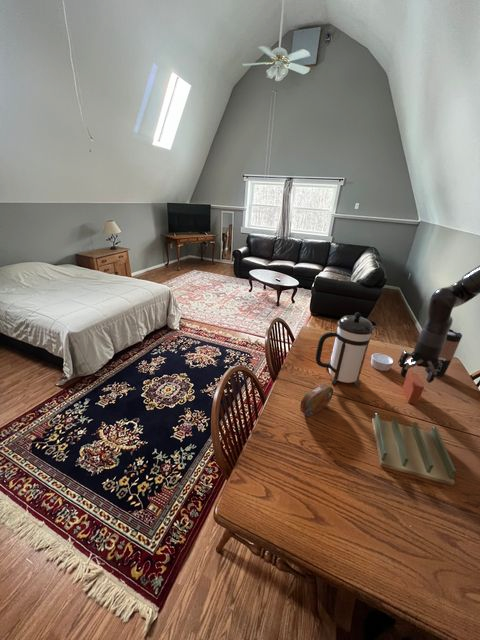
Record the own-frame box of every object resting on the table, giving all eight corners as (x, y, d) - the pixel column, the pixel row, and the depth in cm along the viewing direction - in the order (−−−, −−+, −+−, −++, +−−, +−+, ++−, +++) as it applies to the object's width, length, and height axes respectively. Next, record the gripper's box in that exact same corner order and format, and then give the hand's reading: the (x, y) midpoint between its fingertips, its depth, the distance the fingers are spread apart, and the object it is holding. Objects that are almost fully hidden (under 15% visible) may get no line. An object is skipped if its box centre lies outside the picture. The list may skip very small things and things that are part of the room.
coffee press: (335, 362, 123) (349, 301, 110) (368, 380, 112) (387, 315, 99) (311, 375, 113) (323, 310, 100) (344, 396, 102) (363, 326, 89)
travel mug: (427, 375, 117) (443, 334, 109) (422, 365, 124) (437, 327, 115) (447, 379, 115) (465, 338, 107) (441, 369, 122) (458, 330, 113)
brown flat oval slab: (303, 420, 90) (307, 400, 87) (296, 414, 93) (300, 395, 89) (331, 403, 99) (335, 384, 95) (324, 398, 101) (328, 379, 97)
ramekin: (366, 360, 126) (368, 352, 124) (385, 361, 126) (387, 353, 124) (374, 371, 118) (376, 363, 116) (394, 372, 118) (397, 364, 116)
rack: (431, 434, 87) (435, 424, 85) (453, 486, 71) (459, 475, 70) (371, 420, 92) (374, 410, 90) (380, 465, 76) (384, 455, 74)
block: (410, 389, 108) (417, 373, 104) (417, 404, 100) (424, 387, 96) (402, 387, 108) (408, 371, 105) (408, 402, 101) (414, 385, 97)
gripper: (411, 342, 92) (397, 380, 99) (458, 350, 89) (440, 389, 96) (405, 333, 99) (392, 369, 106) (449, 340, 95) (433, 377, 102)
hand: (415, 378), depth 101 cm, fingers open, 8 cm apart
